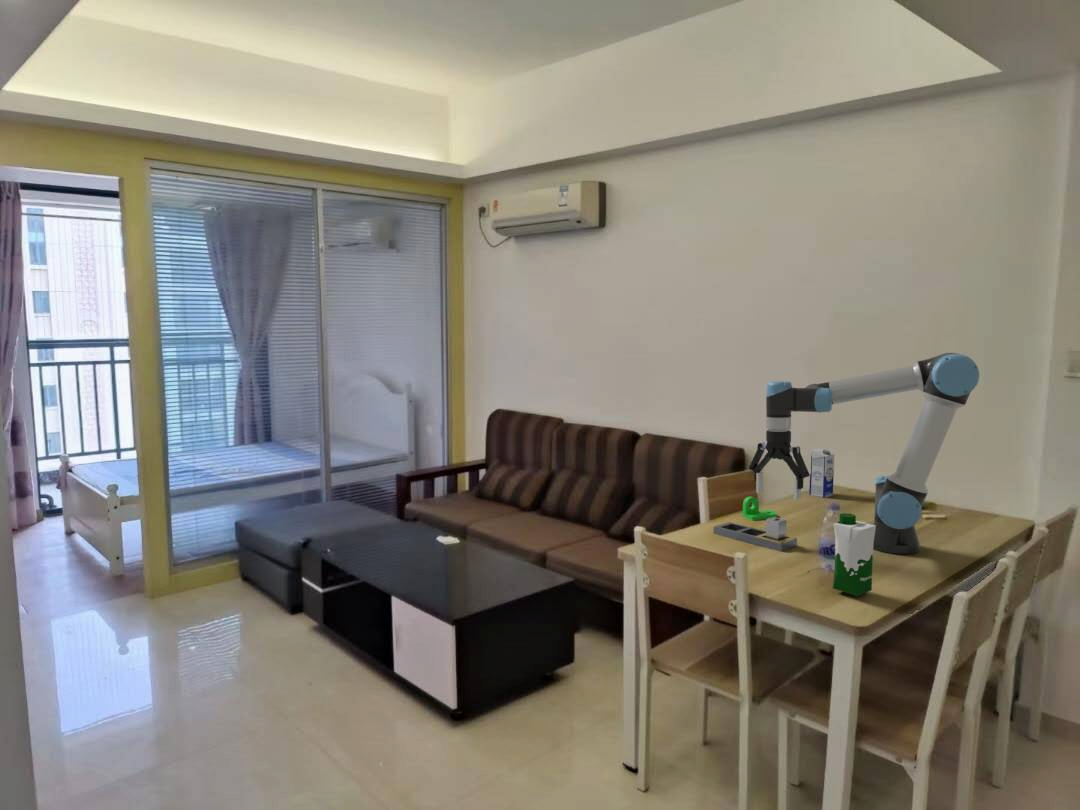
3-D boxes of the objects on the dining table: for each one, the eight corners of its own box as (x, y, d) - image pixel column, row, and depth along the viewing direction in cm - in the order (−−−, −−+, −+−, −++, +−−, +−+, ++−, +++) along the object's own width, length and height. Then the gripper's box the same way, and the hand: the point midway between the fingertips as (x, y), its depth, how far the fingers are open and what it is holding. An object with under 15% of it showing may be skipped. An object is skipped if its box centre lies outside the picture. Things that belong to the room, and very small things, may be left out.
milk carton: (817, 494, 307) (819, 447, 305) (833, 497, 302) (834, 449, 300) (808, 497, 303) (810, 449, 300) (824, 500, 297) (826, 451, 295)
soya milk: (845, 581, 203) (848, 510, 201) (877, 590, 195) (880, 517, 193) (827, 588, 198) (830, 515, 195) (859, 598, 190) (862, 523, 188)
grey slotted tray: (796, 545, 236) (797, 537, 235) (781, 551, 230) (781, 543, 230) (729, 529, 256) (729, 521, 255) (713, 533, 250) (713, 526, 250)
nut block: (785, 543, 236) (786, 519, 235) (777, 546, 233) (778, 521, 233) (773, 540, 240) (774, 516, 239) (765, 543, 237) (766, 518, 236)
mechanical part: (752, 522, 265) (752, 500, 265) (742, 518, 271) (743, 497, 270) (779, 519, 269) (780, 497, 268) (769, 515, 275) (770, 494, 274)
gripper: (821, 432, 226) (820, 499, 228) (751, 425, 245) (751, 487, 247) (808, 434, 221) (807, 503, 223) (738, 427, 240) (738, 491, 242)
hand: (778, 495), depth 235 cm, fingers open, 13 cm apart
